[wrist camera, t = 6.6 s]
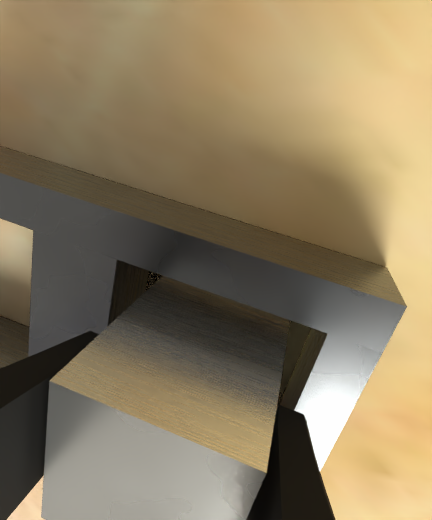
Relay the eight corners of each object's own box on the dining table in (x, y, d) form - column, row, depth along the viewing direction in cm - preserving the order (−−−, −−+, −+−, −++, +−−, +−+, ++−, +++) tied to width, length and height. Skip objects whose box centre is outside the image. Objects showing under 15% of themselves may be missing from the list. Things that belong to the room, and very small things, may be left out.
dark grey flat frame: (-66, 313, 15) (-130, 343, 13) (-83, 119, 12) (-170, 117, 10) (293, 462, 13) (288, 530, 11) (387, 268, 10) (407, 306, 8)
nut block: (155, 358, 13) (41, 517, 8) (175, 264, 12) (49, 381, 6) (257, 398, 13) (210, 601, 7) (292, 304, 11) (267, 473, 6)
